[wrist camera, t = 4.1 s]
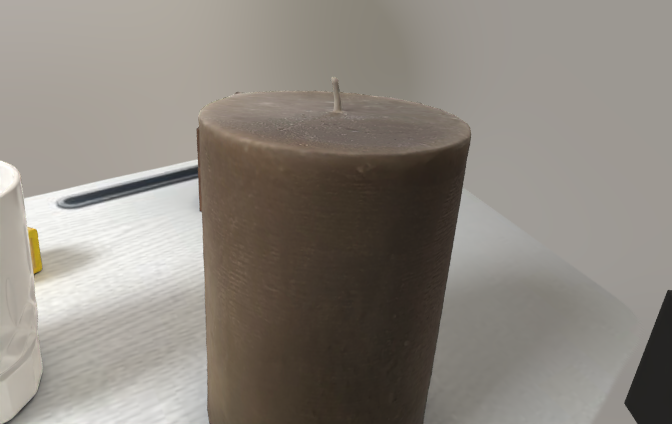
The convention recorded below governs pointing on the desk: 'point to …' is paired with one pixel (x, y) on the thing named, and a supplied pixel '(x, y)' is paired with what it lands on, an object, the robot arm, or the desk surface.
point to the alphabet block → (35, 250)
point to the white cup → (16, 301)
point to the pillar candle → (325, 253)
